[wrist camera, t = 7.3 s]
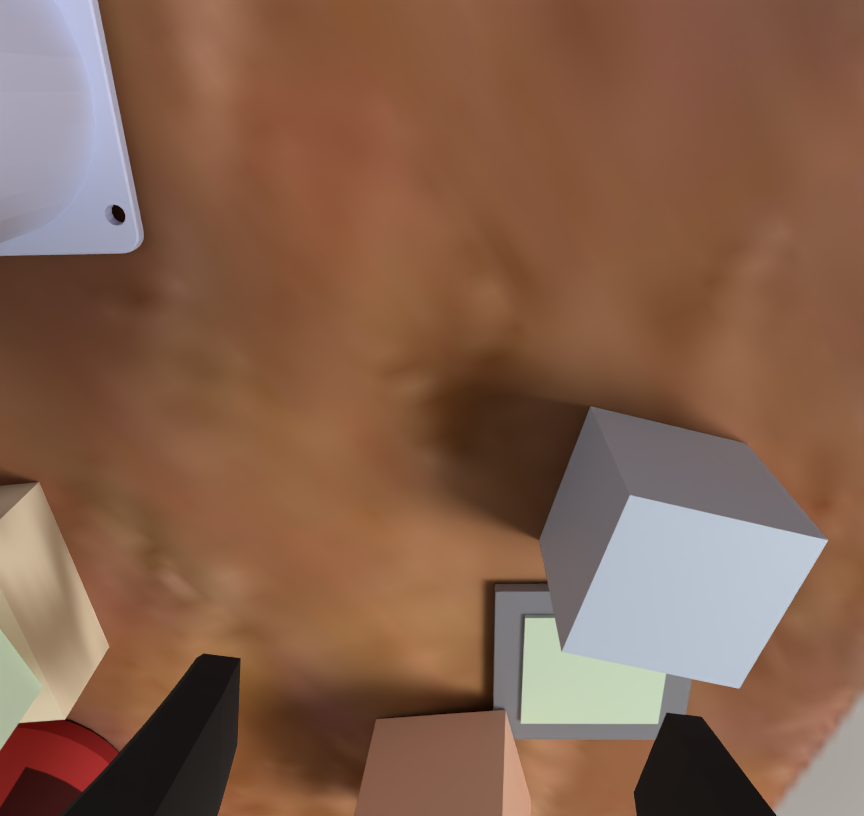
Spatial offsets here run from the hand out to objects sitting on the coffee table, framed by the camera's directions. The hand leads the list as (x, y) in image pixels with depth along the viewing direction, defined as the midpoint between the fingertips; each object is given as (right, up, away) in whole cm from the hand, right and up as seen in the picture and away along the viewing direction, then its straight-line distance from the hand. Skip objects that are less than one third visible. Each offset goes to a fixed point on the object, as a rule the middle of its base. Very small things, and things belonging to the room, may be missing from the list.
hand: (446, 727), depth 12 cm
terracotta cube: (+1, -8, +15) cm, 17 cm away
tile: (+5, -4, +13) cm, 15 cm away
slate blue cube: (+6, +3, +10) cm, 12 cm away
